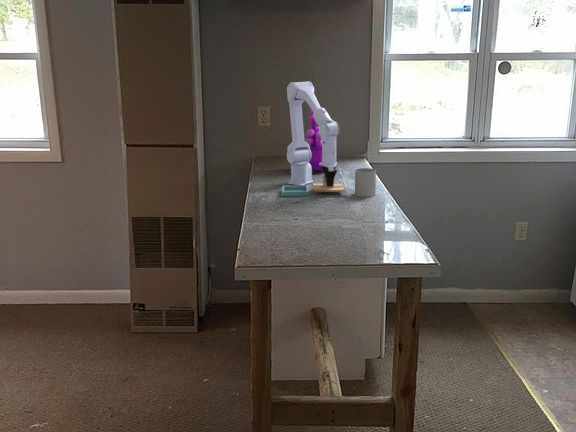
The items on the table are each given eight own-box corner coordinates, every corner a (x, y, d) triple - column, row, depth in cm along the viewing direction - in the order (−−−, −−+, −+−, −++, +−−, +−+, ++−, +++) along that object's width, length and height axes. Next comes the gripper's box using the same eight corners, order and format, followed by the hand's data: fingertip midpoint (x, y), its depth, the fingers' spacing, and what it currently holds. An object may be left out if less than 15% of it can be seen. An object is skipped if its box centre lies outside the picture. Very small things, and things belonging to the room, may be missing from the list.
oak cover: (312, 185, 259) (312, 173, 258) (340, 184, 260) (341, 173, 258) (315, 191, 247) (315, 180, 246) (344, 191, 248) (345, 179, 247)
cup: (374, 197, 246) (375, 172, 244) (354, 196, 248) (354, 172, 245) (375, 192, 254) (376, 168, 252) (356, 191, 256) (356, 167, 253)
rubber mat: (311, 189, 261) (311, 188, 261) (344, 188, 261) (344, 187, 261) (312, 197, 247) (312, 196, 247) (347, 196, 247) (347, 195, 247)
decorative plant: (290, 168, 305) (289, 107, 296) (325, 165, 310) (325, 105, 302) (302, 175, 287) (301, 110, 279) (339, 172, 292) (339, 108, 284)
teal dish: (282, 190, 260) (282, 185, 259) (308, 190, 260) (308, 185, 259) (281, 196, 249) (281, 192, 249) (308, 196, 249) (308, 191, 248)
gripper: (317, 149, 256) (317, 181, 260) (321, 155, 242) (321, 189, 246) (334, 149, 256) (334, 180, 260) (339, 155, 243) (338, 188, 246)
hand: (329, 184), depth 253 cm, fingers closed on oak cover, 4 cm apart
